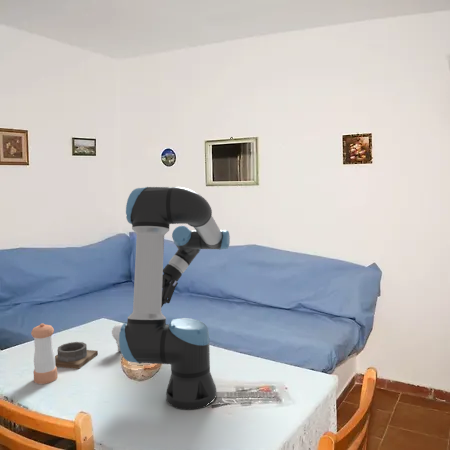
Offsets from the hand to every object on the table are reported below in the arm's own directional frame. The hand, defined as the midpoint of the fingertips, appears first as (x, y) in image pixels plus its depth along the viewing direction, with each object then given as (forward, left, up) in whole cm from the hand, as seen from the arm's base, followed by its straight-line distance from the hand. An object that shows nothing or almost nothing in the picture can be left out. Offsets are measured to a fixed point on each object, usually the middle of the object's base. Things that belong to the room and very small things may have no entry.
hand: (143, 311), depth 179 cm
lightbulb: (-8, +6, -14) cm, 17 cm away
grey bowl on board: (-19, +20, -14) cm, 31 cm away
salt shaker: (-35, +20, -14) cm, 43 cm away
